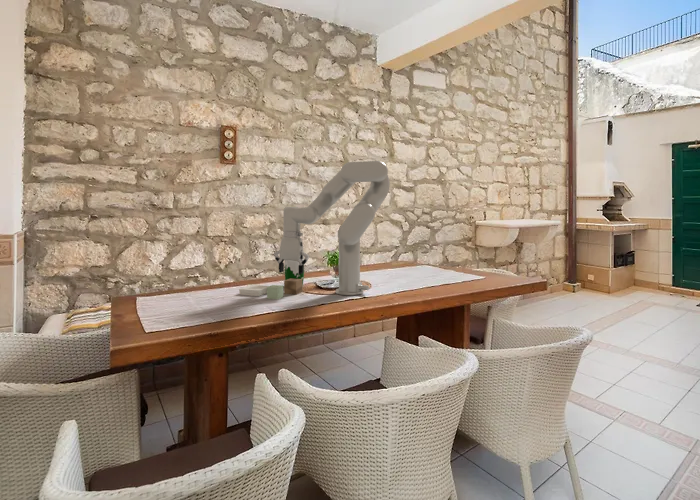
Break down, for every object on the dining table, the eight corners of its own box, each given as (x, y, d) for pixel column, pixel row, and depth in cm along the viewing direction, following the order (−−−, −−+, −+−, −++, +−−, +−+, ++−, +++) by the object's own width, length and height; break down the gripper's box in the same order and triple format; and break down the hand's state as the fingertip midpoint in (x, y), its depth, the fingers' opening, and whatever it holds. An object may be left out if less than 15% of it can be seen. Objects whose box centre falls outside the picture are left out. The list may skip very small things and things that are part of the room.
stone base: (270, 291, 186) (270, 286, 186) (259, 296, 177) (258, 290, 177) (252, 290, 190) (251, 284, 189) (239, 294, 180) (239, 289, 180)
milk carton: (287, 284, 202) (286, 244, 200) (305, 284, 202) (304, 244, 200) (283, 288, 194) (282, 246, 191) (302, 288, 193) (302, 246, 191)
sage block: (283, 296, 176) (283, 285, 175) (277, 299, 171) (277, 287, 171) (273, 296, 178) (272, 284, 177) (267, 298, 173) (266, 287, 172)
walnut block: (302, 292, 186) (302, 279, 185) (296, 294, 180) (296, 281, 179) (290, 291, 188) (290, 278, 187) (284, 293, 182) (284, 280, 181)
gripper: (312, 235, 182) (312, 273, 183) (278, 233, 187) (278, 270, 189) (305, 236, 175) (304, 275, 176) (270, 234, 180) (269, 272, 182)
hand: (291, 272), depth 183 cm, fingers open, 9 cm apart
